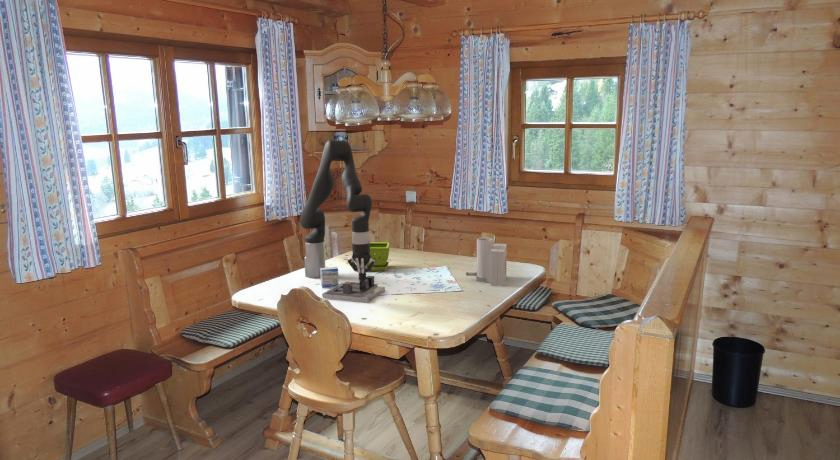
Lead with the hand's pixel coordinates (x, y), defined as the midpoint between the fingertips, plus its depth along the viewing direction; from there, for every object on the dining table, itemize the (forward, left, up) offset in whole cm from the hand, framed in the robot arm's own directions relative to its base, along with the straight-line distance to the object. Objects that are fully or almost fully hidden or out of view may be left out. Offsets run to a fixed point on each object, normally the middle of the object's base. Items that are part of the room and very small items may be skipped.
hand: (362, 281), depth 266 cm
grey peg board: (-7, +6, -8) cm, 13 cm away
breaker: (-7, 0, -6) cm, 10 cm away
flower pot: (-16, +50, -9) cm, 53 cm away
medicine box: (-24, +15, -9) cm, 30 cm away
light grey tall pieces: (+43, +45, -9) cm, 63 cm away
